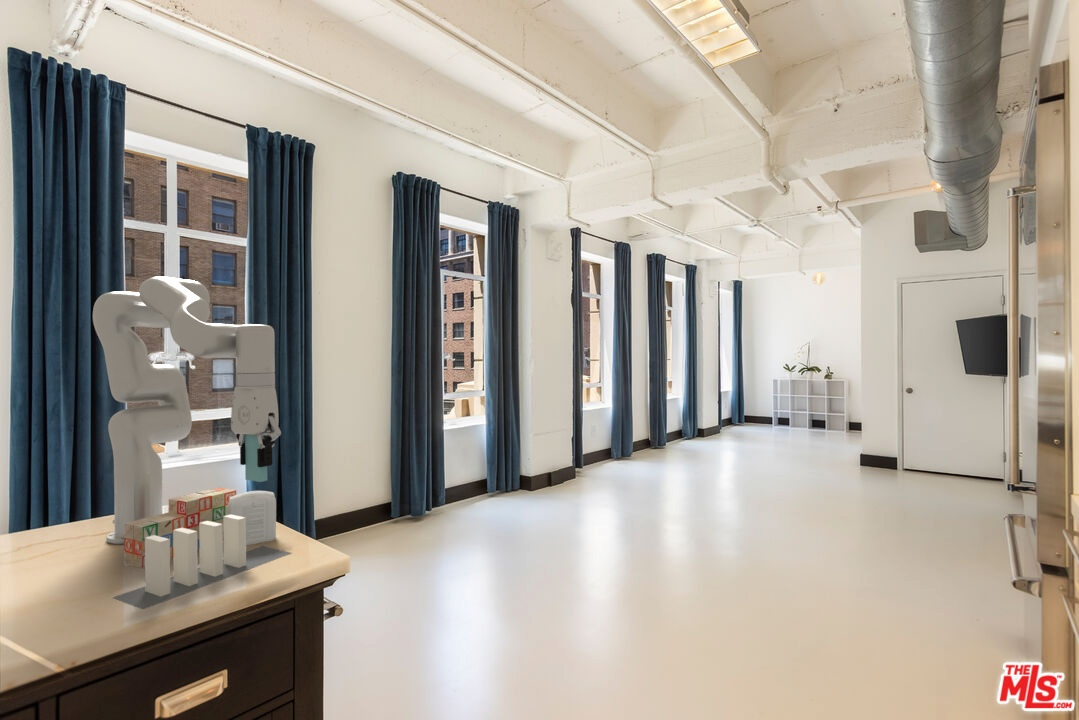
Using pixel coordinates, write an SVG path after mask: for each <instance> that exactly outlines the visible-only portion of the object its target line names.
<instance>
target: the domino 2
mask: <svg viewBox="0 0 1079 720" xmlns="http://www.w3.org/2000/svg"><path fill="white" fill-rule="evenodd" d="M173 552H174V558H173V576H174V582H177V583H181V584H184V585H187V586H191V585H194V584H197V583H198V568H199V567H198V564H199V563H198V550H197V531H194V530H190V529H185V528H179V529H175V530H173Z"/></svg>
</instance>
